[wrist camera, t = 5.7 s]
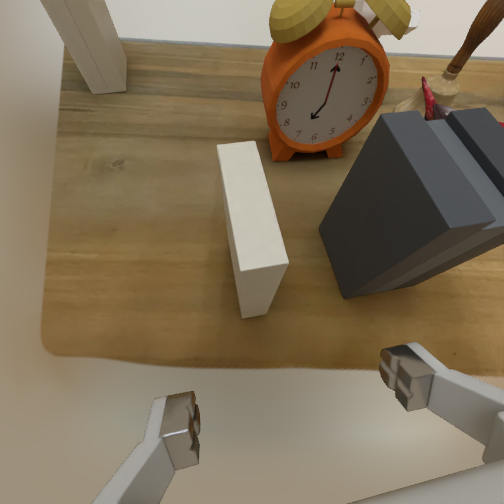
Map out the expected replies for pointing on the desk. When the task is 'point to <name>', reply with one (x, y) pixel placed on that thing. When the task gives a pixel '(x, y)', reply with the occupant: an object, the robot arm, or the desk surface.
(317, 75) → the alarm clock
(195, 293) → the desk surface
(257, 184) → the white book
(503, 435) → the robot arm
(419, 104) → the hand bell
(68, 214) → the desk surface
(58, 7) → the white books
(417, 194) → the grey books
